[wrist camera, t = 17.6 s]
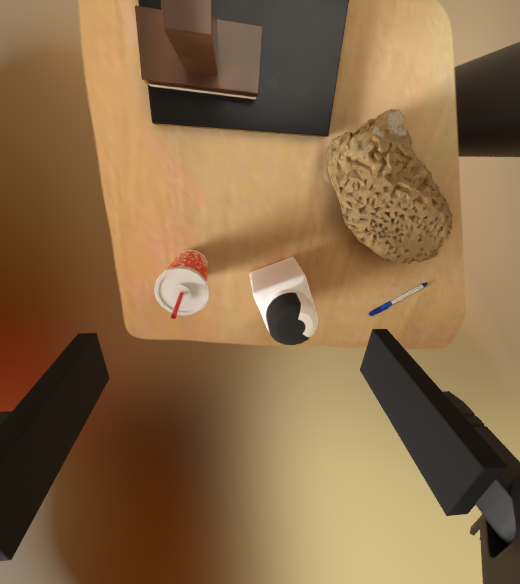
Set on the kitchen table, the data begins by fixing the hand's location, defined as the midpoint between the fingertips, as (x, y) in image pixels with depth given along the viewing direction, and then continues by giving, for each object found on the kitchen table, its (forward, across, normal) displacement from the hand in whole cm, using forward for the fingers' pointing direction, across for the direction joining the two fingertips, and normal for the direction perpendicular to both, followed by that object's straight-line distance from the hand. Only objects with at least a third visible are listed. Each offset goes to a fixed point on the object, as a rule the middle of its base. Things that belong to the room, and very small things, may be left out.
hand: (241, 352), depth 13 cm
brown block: (+25, -3, +17) cm, 30 cm away
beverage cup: (+26, -6, -6) cm, 28 cm away
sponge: (+27, +20, +4) cm, 34 cm away
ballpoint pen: (+27, +28, -12) cm, 40 cm away
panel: (+26, +1, +17) cm, 31 cm away
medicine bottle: (+26, +7, -9) cm, 29 cm away
